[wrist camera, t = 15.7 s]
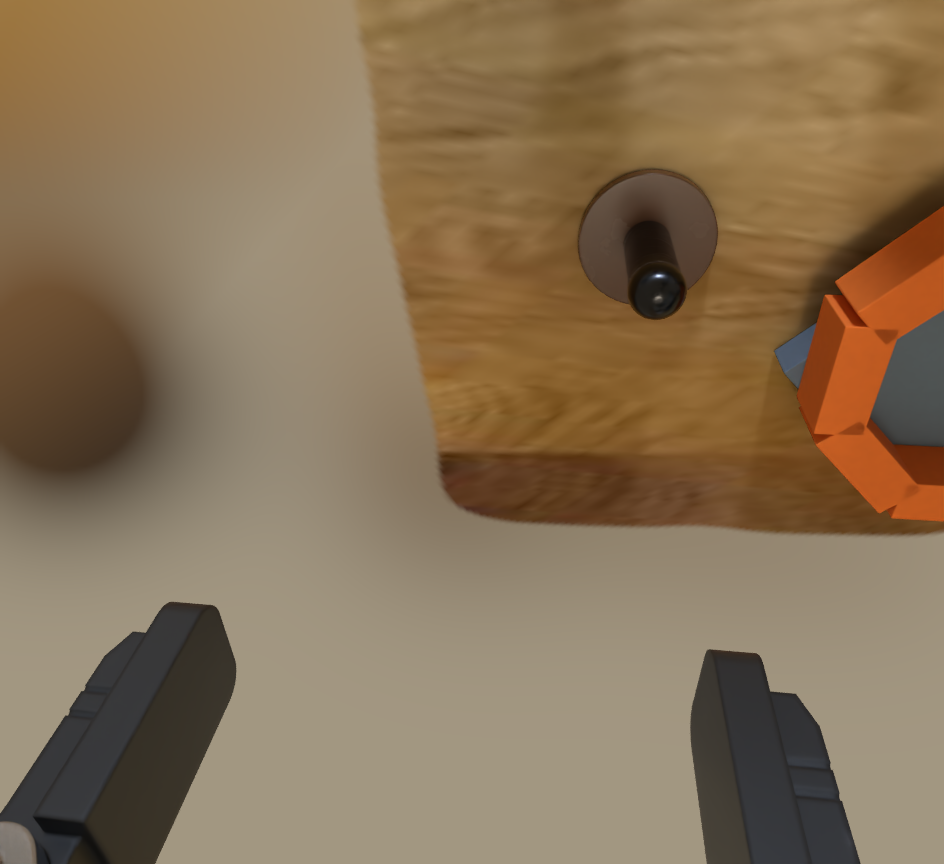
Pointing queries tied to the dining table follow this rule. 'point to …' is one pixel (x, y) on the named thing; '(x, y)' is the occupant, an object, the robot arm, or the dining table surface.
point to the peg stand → (648, 240)
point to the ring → (876, 372)
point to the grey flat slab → (896, 383)
